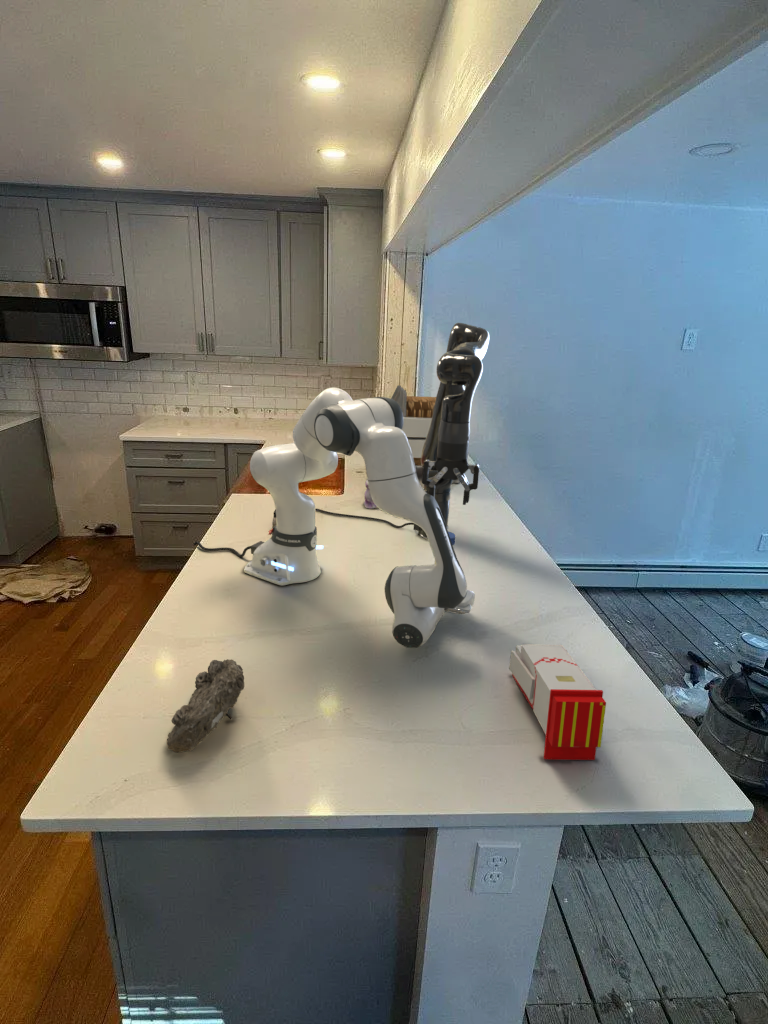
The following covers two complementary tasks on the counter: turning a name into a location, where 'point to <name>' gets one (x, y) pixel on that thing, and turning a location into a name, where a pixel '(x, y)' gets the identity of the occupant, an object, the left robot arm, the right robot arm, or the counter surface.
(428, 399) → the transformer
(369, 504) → the figurine
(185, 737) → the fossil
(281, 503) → the left robot arm
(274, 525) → the figurine character
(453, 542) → the lid
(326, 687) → the counter surface
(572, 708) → the toy
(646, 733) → the counter surface
